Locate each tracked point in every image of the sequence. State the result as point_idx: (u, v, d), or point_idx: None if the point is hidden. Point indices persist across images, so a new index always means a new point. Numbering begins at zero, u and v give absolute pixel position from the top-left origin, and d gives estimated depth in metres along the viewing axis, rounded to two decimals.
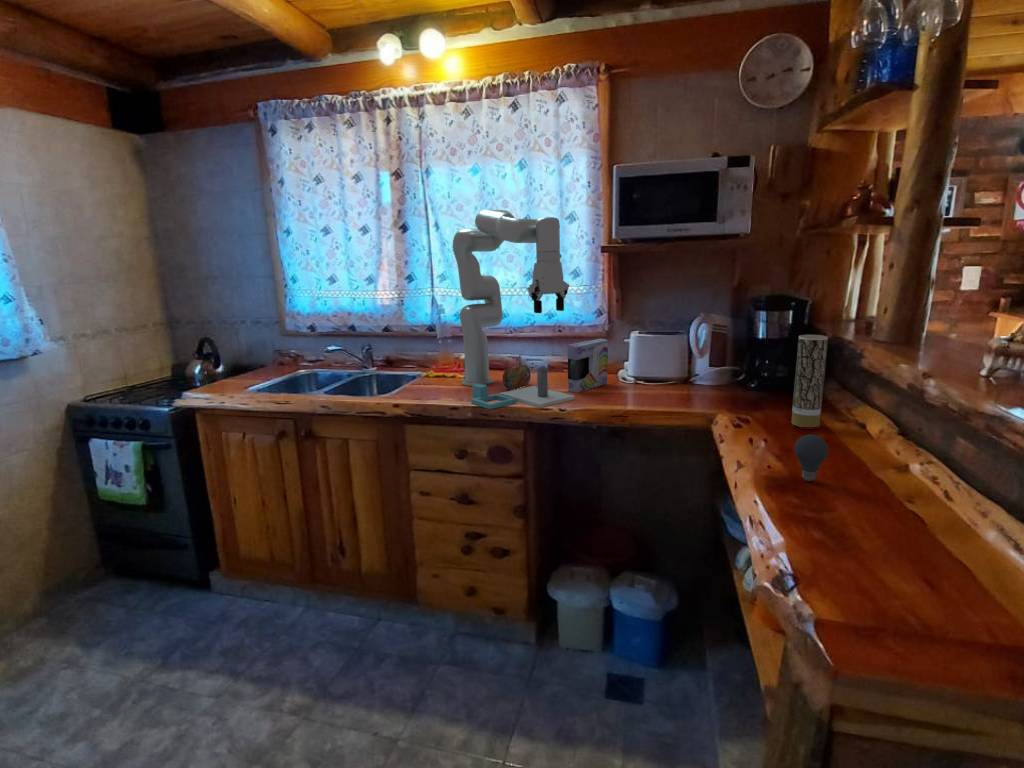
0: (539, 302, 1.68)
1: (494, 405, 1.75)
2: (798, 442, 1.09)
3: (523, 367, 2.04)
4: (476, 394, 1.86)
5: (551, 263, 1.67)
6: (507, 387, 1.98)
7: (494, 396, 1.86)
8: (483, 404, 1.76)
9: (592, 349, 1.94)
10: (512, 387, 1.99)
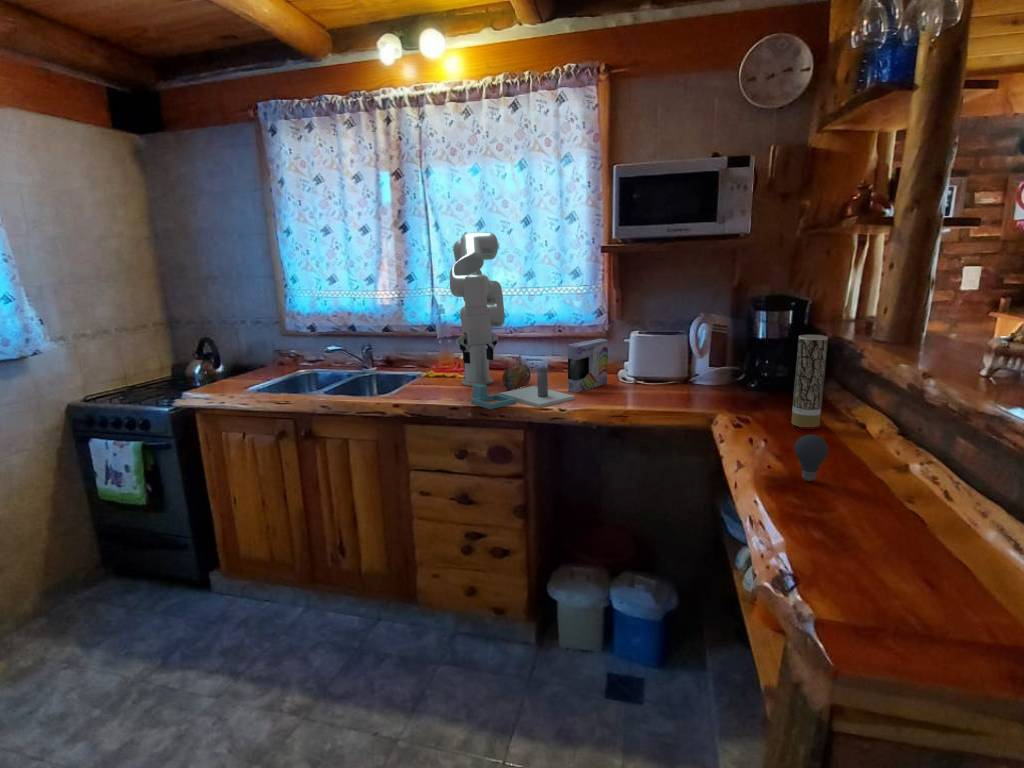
0: (467, 353, 1.79)
1: (494, 405, 1.75)
2: (798, 442, 1.09)
3: (523, 367, 2.04)
4: (476, 394, 1.86)
5: (478, 317, 1.78)
6: (507, 387, 1.98)
7: (494, 396, 1.86)
8: (483, 404, 1.76)
9: (592, 349, 1.94)
10: (512, 387, 1.99)
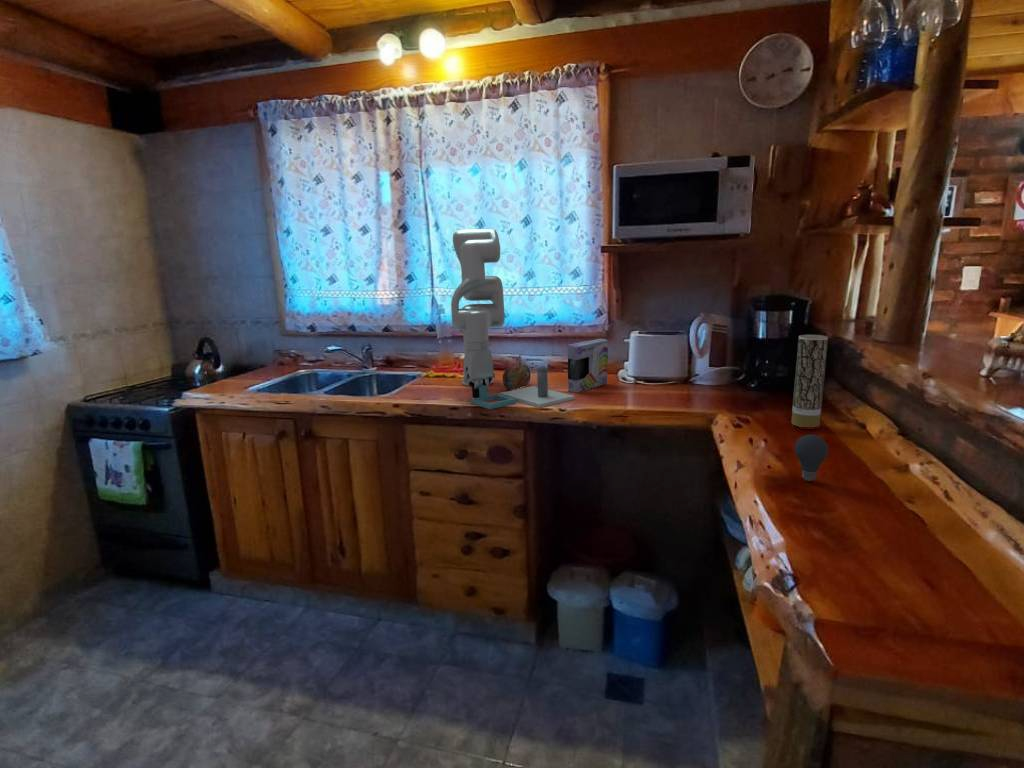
0: (476, 390, 1.84)
1: (494, 405, 1.75)
2: (798, 442, 1.09)
3: (523, 367, 2.04)
4: None
5: (480, 352, 1.81)
6: (507, 387, 1.98)
7: (494, 396, 1.86)
8: (483, 404, 1.76)
9: (592, 349, 1.94)
10: (512, 387, 1.99)
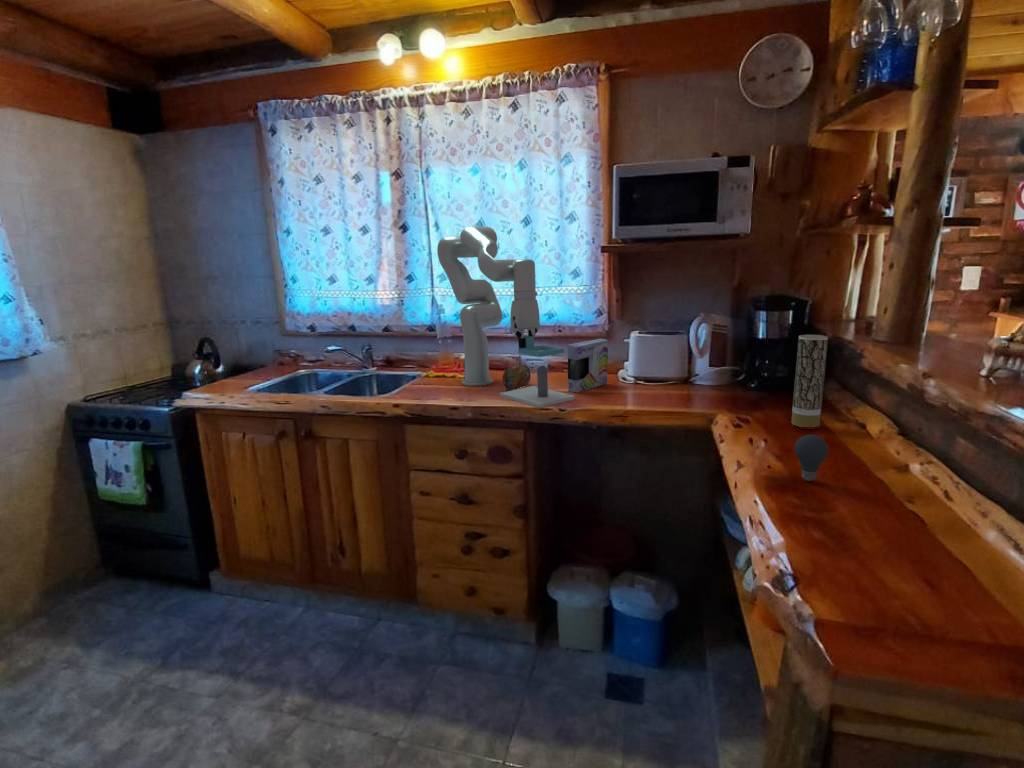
0: (523, 340, 1.84)
1: (543, 353, 1.74)
2: (798, 442, 1.09)
3: (523, 367, 2.04)
4: None
5: (527, 301, 1.80)
6: (507, 387, 1.98)
7: (540, 347, 1.85)
8: (532, 352, 1.76)
9: (592, 349, 1.94)
10: (512, 387, 1.99)
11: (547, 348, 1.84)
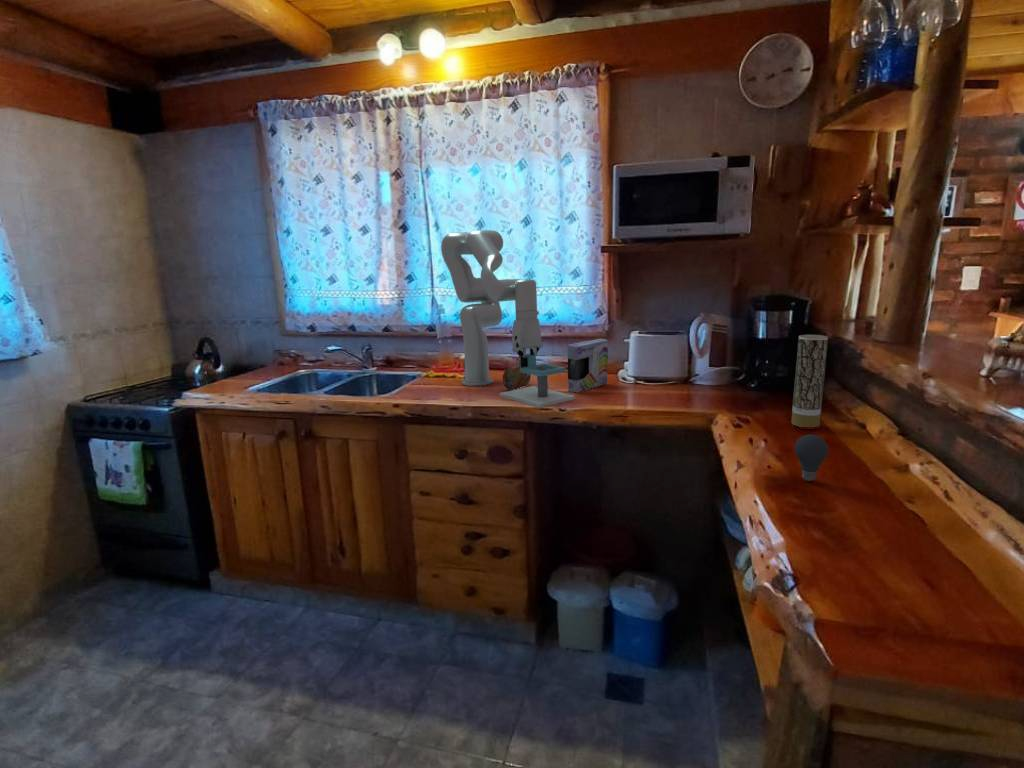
0: (525, 359, 1.85)
1: (546, 373, 1.75)
2: (798, 442, 1.09)
3: None
4: None
5: (529, 321, 1.82)
6: (507, 387, 1.98)
7: None
8: (534, 372, 1.77)
9: (592, 349, 1.94)
10: (512, 387, 1.99)
11: (549, 367, 1.85)
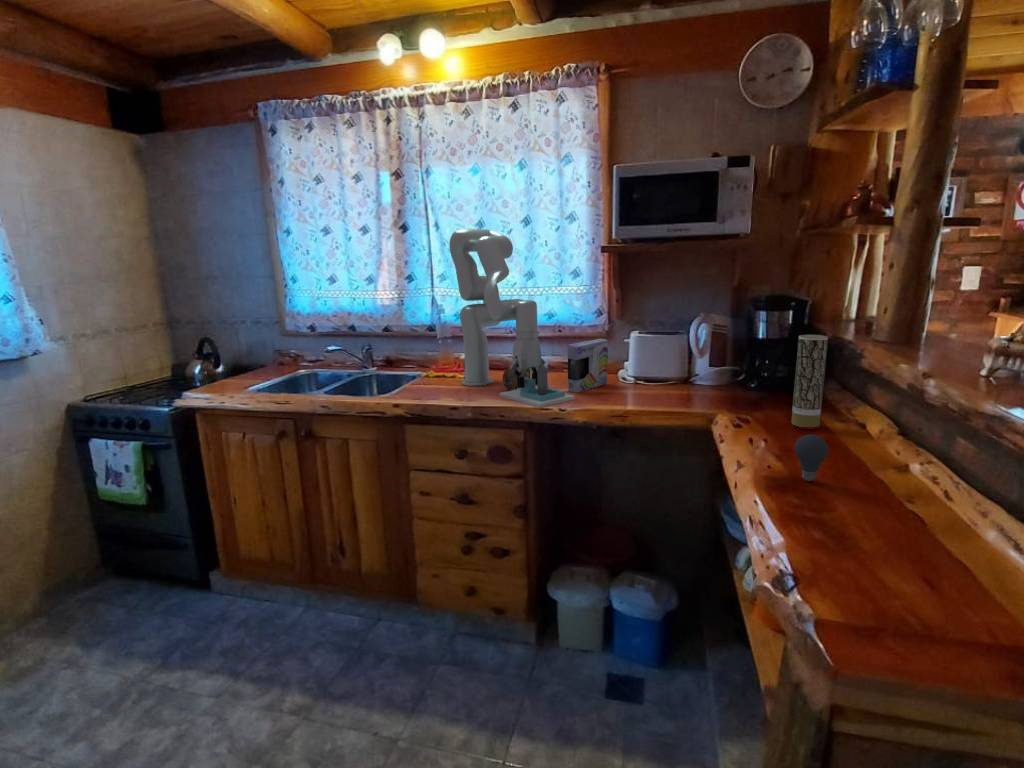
0: (522, 378, 1.86)
1: (545, 398, 1.78)
2: (798, 442, 1.09)
3: None
4: (524, 387, 1.89)
5: (529, 341, 1.84)
6: (507, 387, 1.98)
7: None
8: (534, 396, 1.79)
9: (592, 349, 1.94)
10: (512, 387, 1.99)
11: (548, 390, 1.87)
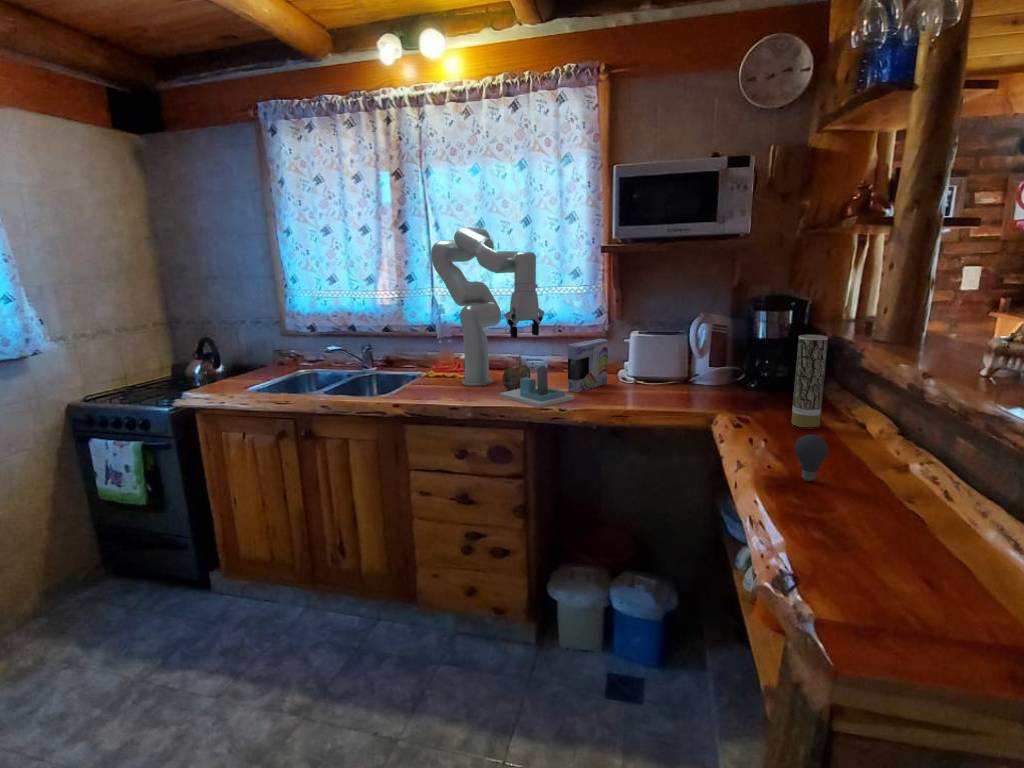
0: (515, 328, 1.85)
1: (545, 398, 1.78)
2: (798, 442, 1.09)
3: (523, 367, 2.04)
4: (524, 387, 1.89)
5: (527, 293, 1.84)
6: (507, 387, 1.98)
7: None
8: (534, 396, 1.79)
9: (592, 349, 1.94)
10: (512, 387, 1.99)
11: (548, 390, 1.87)
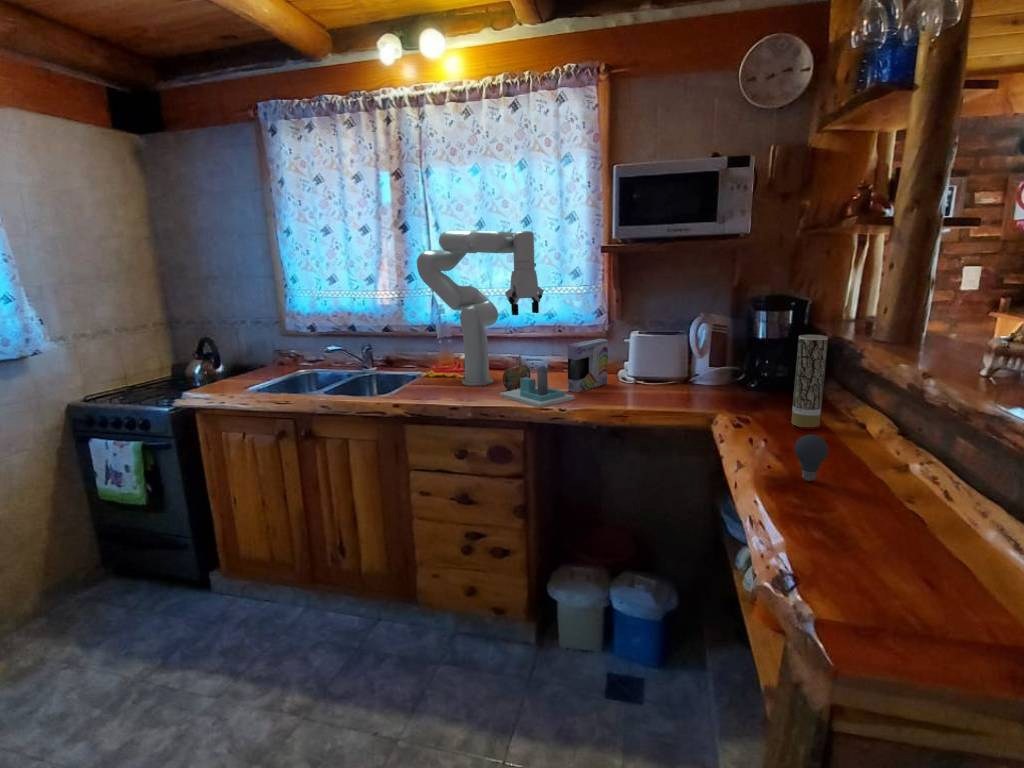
0: (516, 305, 1.91)
1: (545, 398, 1.78)
2: (798, 442, 1.09)
3: (523, 367, 2.04)
4: (524, 387, 1.89)
5: (526, 271, 1.90)
6: (507, 387, 1.98)
7: None
8: (534, 396, 1.79)
9: (592, 349, 1.94)
10: (512, 387, 1.99)
11: (548, 390, 1.87)
